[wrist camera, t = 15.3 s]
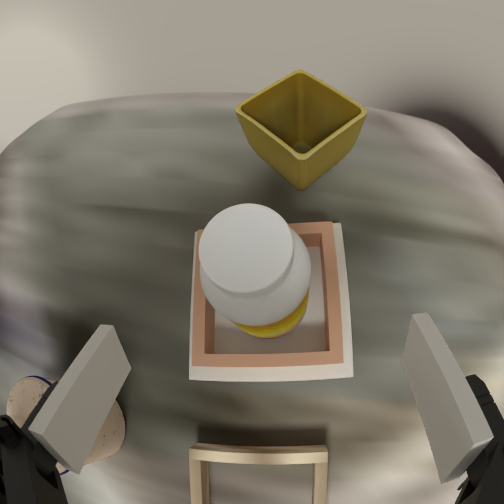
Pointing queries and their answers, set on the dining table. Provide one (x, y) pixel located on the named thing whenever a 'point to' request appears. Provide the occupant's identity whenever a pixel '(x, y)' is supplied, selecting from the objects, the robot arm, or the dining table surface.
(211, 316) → the plate
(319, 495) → the holder ring
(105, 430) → the teacup with lid
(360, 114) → the flower pot
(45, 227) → the dining table surface
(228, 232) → the supplement bottle
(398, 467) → the dining table surface
